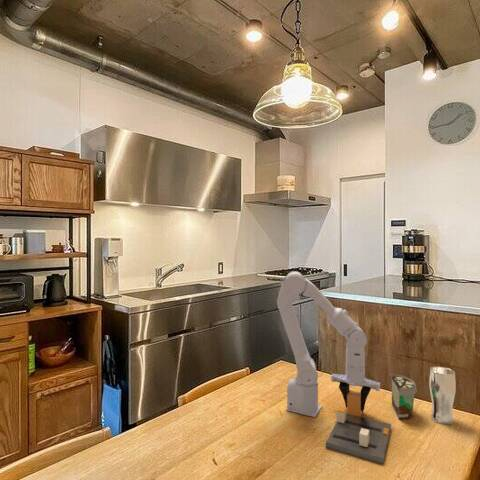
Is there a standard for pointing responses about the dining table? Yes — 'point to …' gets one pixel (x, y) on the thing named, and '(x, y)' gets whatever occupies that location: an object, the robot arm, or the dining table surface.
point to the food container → (403, 396)
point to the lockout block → (354, 403)
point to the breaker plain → (364, 437)
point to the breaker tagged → (341, 414)
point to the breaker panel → (348, 438)
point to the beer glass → (442, 394)
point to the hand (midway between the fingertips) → (354, 408)
